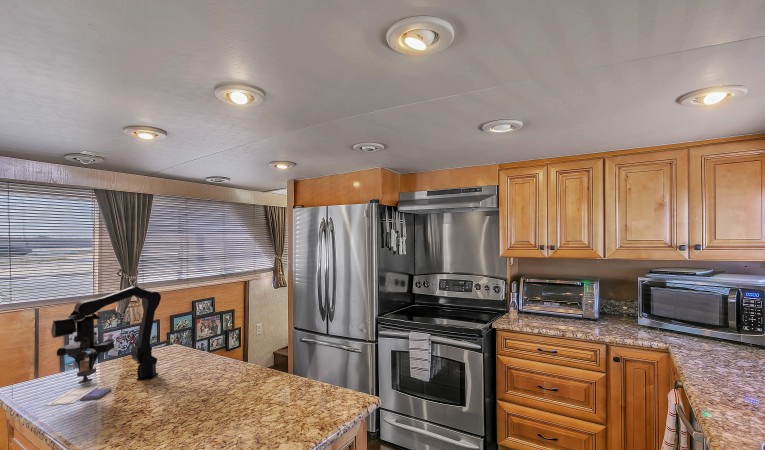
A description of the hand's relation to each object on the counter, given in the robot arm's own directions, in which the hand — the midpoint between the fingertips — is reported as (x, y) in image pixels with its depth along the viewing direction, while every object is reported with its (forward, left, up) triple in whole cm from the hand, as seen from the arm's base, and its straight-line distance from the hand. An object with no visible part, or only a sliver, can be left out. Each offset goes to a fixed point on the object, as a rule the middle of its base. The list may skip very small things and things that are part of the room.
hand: (86, 369), depth 150 cm
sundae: (+13, -19, -12) cm, 26 cm away
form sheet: (+7, -3, -11) cm, 14 cm away
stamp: (0, 0, -2) cm, 2 cm away
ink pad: (-3, -1, -11) cm, 12 cm away
